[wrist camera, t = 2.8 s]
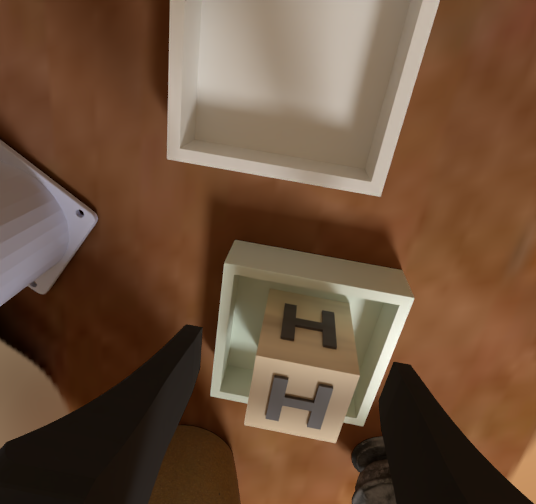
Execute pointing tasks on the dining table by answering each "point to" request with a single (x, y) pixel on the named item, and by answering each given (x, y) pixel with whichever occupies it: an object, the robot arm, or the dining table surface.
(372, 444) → the salt shaker
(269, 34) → the white tray
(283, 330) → the letter block
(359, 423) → the sage tray
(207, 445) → the plant pot
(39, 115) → the dining table surface
